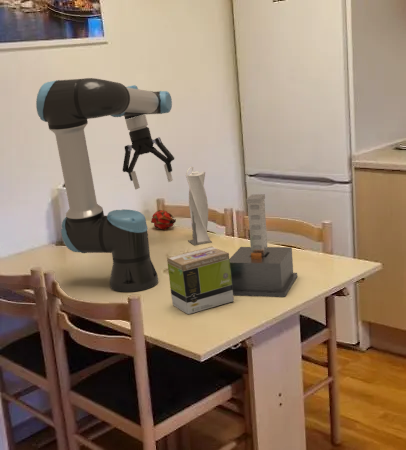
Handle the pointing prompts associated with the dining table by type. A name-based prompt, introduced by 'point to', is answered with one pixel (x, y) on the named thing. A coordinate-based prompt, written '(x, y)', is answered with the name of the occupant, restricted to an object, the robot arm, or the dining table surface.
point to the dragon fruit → (162, 220)
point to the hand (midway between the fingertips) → (153, 185)
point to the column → (257, 224)
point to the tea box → (200, 279)
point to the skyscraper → (198, 207)
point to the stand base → (262, 272)
